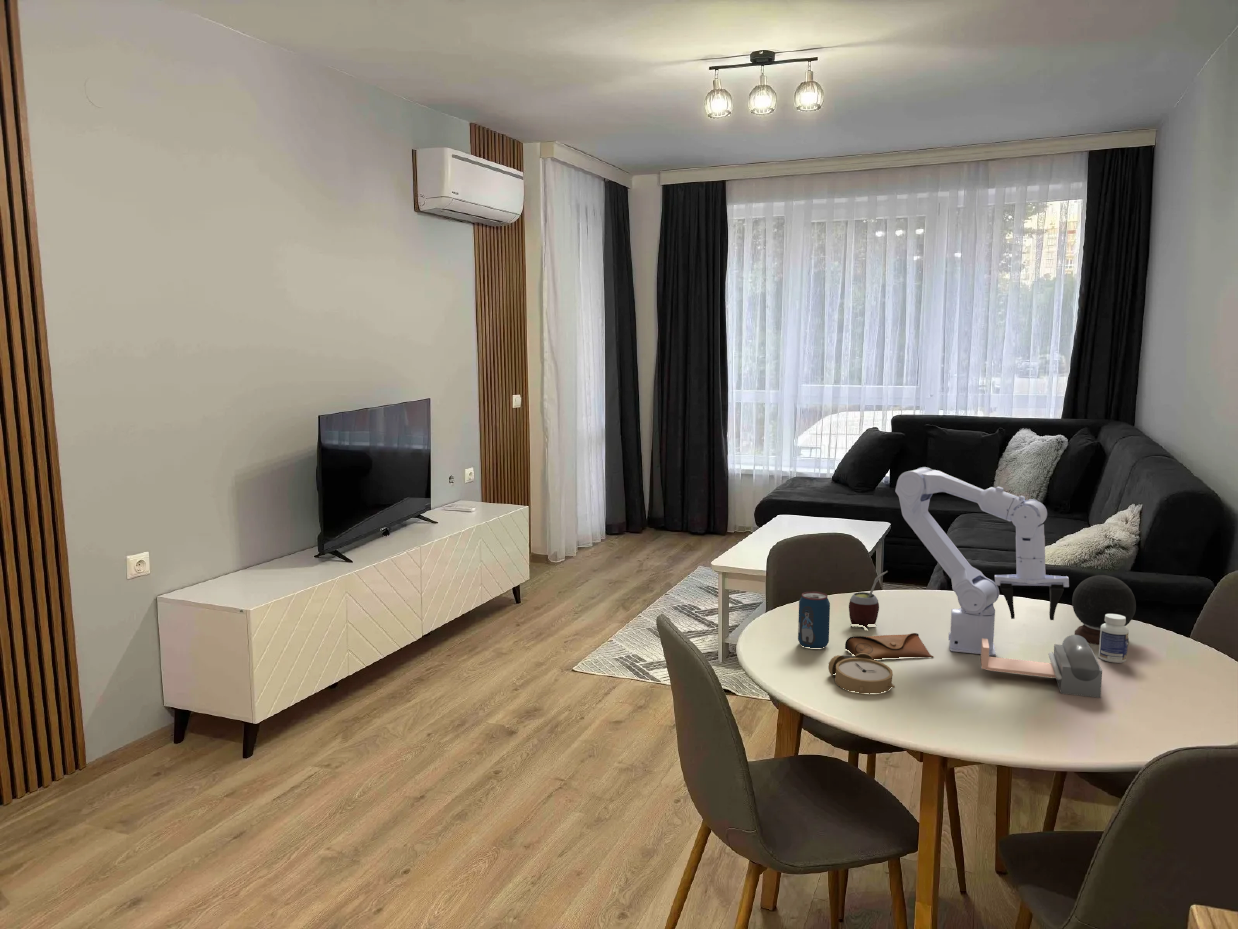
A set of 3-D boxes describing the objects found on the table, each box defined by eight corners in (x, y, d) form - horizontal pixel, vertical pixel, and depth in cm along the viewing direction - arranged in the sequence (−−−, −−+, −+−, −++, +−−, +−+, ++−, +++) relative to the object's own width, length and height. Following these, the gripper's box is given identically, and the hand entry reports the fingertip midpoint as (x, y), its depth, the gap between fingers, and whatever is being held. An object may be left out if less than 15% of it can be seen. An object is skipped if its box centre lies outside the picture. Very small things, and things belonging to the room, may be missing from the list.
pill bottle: (1130, 664, 193) (1133, 620, 192) (1102, 662, 194) (1106, 619, 193) (1121, 655, 198) (1124, 613, 197) (1095, 654, 200) (1098, 612, 198)
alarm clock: (853, 685, 175) (819, 647, 189) (850, 706, 176) (816, 667, 190) (904, 679, 178) (867, 642, 191) (901, 701, 179) (864, 663, 193)
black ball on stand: (1146, 645, 206) (1152, 581, 204) (1098, 649, 202) (1103, 585, 200) (1103, 627, 218) (1107, 567, 216) (1057, 631, 215) (1061, 570, 213)
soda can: (826, 641, 208) (828, 591, 207) (830, 651, 202) (832, 599, 200) (796, 640, 209) (797, 590, 208) (799, 650, 202) (800, 598, 201)
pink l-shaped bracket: (981, 669, 185) (983, 648, 185) (980, 658, 192) (981, 637, 191) (1056, 678, 181) (1058, 656, 180) (1052, 666, 187) (1054, 645, 187)
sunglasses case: (861, 663, 194) (855, 632, 197) (848, 669, 200) (842, 639, 203) (937, 657, 197) (930, 627, 200) (922, 663, 204) (915, 634, 206)
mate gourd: (845, 622, 222) (847, 563, 220) (877, 622, 222) (879, 563, 220) (852, 632, 215) (855, 571, 213) (885, 632, 215) (888, 571, 213)
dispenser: (1055, 692, 178) (1057, 653, 177) (1047, 668, 191) (1049, 632, 190) (1100, 697, 175) (1103, 658, 174) (1089, 673, 188) (1092, 636, 187)
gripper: (994, 559, 192) (996, 621, 193) (1069, 560, 187) (1071, 624, 188) (993, 553, 199) (995, 613, 200) (1066, 554, 193) (1068, 615, 194)
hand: (1032, 618), depth 194 cm, fingers open, 7 cm apart
